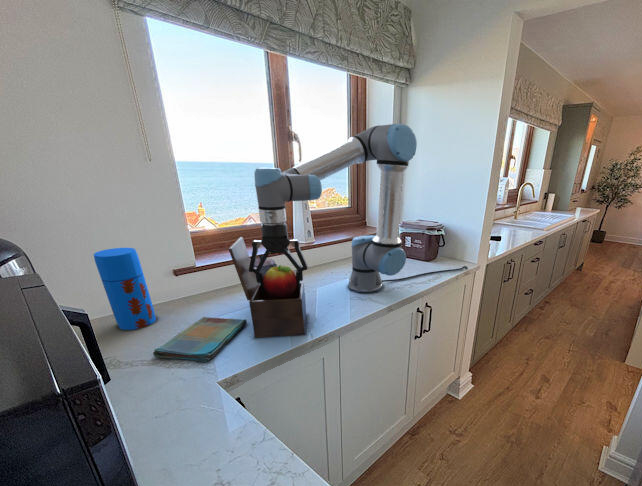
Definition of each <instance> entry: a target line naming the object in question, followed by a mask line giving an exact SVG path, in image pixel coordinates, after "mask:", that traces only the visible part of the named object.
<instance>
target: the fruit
mask: <svg viewBox="0 0 642 486" xmlns="http://www.w3.org/2000/svg"><path fill="white" fill-rule="evenodd" d="M263 285H264V288H265V290H266V292H267V293H268V294H270V295H271V296H273V297H276V298H284V297H288V296H290V295H291V294H292V293H293V292H294V291H295V290H296V288H297V280H296V272H294V270H293V269H292V268H291V267H289V266H287V265H282V264H279V265H277V267H272V268H270V269H269V270H268V271H267V272H266V274H265V276H264V278H263Z"/></svg>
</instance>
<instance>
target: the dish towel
mask: <svg viewBox="0 0 642 486" xmlns="http://www.w3.org/2000/svg"><path fill="white" fill-rule="evenodd" d="M247 324H248V321H247V319H245V318H243V319H242V318H241V319H239V318H224V317H223V318H222V317H211V316H210V317H209V316H202V317H201V318H200V319H198V320H197V321H196V322H194V323H192V324H191V325H189V326H188V327H187V328H185V329H184V330H182V331H181V332H179V333H178V334H176V335H175V336H174V337H172V338H171V339H170V340H168V341H167V342H165V343H164V344H162V345H160V346H159V347H156V348H155V349H154V351H153V352H152V354H153V356H154V357H156V358H158V359H177V360H178V359H179V360H181V359H182V360H188V361H196V362H205V363H207V362H209V361H210V360H211V359H212V358H214V357H215V355H216V354H217V353H218V352H219V351H220V350H222V348H223V347H224V346H225V345H226V344H227V343H228V342H229V341H230V340H231V339H233V337H234V336H235V335H236V334H238V332H240V331H241V330H242V329H243V327H245V326H246V325H247Z"/></svg>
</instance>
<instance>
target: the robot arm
mask: <svg viewBox="0 0 642 486" xmlns="http://www.w3.org/2000/svg"><path fill="white" fill-rule="evenodd" d="M417 150H418V141H417V137H416V135H415V133H414V131H413V129H412V128H411V127H410V126H409V125H407V124H403V123H389V124H383V125H381V124H380V125H374V126H372V127H370V128H367V129H365V130H363V131H361V132H359V133H357V134H356V135H353V136H351V137H349V138H348V140H347V142H346V143H342V144H341V145H339V146H336V147H333V148H332V149H330V150H328V151H326V152H324V153H321V154H320V155H317V156H314V157H313V158H310V159H308V160H306V161H304V162H301V163H299V164H297V165H295V166H292V167H291V168H289V169H285V170H284V171H282V169H281V168H279V167H257V168H255V170H254V187H255V192H256V193H255V194H256V199H257V207H258V215H259V222H260V223H261V225H260V229H261V240H257V239H254V240H252V242H251V246H252V247H251V248H252V250H251V251H252V252H251V256H250V259H251V261H250V266H249V272H254V273H255V274H256V280H257V283H260V284H261V291H262V293H264V292H265V288H264V285H263V278H264V275H263V271H260V270H261V268H262V266H263V264H264V262H265V260H266V259H267V258H269V254H271V255H275V254H279V255H282V254H284V256H285V257H286V258H287V259H288V261H290V263H291V265H293V267H294V268H295V269H296V271H295V275H296V280H297V290H298V291H300V283H301V282H303V281H304V274H303V272H304V271H307V270H308V263H307V261H306V258H305V256H304V254H303V252H302V249H301V247H300V240H299V239H298V238H296V239H290V238H289V234H288V224H287V213H286V202H287V203H288V202H289V203H290V202H303V201H304V202H305V201H306V202H307V201H308V202H311V201H315V200H318V199H320V198H321V196H322V193H323V187H322V182H321V181H322V180H325V179H327V178H329V177H330V176H333V175H335V174H337V173H339V172H341V171H342V170H345V169H347V168H349V167H351V166H353V165H356V164H359V165H361V164H364V163H366V162H369V161H376V166H377V167H378V169H379V185H378V186H379V189H378V204H377V218H376V219H377V222H376V234H375V235H372V234H369V235H359V236H355V237H353V238H352V240H351V260H352V261H351V265H352V266H351V268H352V269H351V274H350V277H349V279H348V289H349V290H351V291H353V292H354V293H361V294H369V293H375V292H378V291H380V290H382V289H383V283H386V282H399V281H404V280H408V279H413V278H417V277H421V276H426V275H432V274H437V273H438V274H439V273H447V272H455V271H456V272H457V271H461V270H464V269H468V267H467V266H465V265H464V266H462V267H459V268H453V269H451V268H450V269H444V270H443V269H442V270H435V271H429V272H423V273H418V274H415V275H411V276H405V277H402V278H395V279H384V280H383V279H382V277H381V274H382V275H385V276H390V277H392V276H395V275H397V274H399V273H400V272H401V271H402V270H403V268H404V267H405V265H406V261H407V254H406V252H405V250H404V249H403V248H402V240H401V239H400V238H399V231H400V220H401V219H400V218H401V209H402V208H401V207H402V196H403V184H404V182H403V181H404V174H405V173H404V172H405V171H406V170H407V169H408V168H409V164H410V161H412V159H413V158H414V156H415V155H416V153H417ZM290 245H291V246H292V248H294V250H295V252H296V253H295V254H296V255H297V257H298V259H299V261H298V260H297V259H296V258H295V256H294V255H293V254H292V253H291V251H290V249H289V246H290ZM261 246H262V247H263V248H264V249H265V251H264V252H263V253H264V254H262V255H263V257H262V259H261V261H260V263H259V265H258V267H257V268H255V262H256V259H257V257H258V252H259V248H260V247H261ZM299 262H300V263H299Z"/></svg>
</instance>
